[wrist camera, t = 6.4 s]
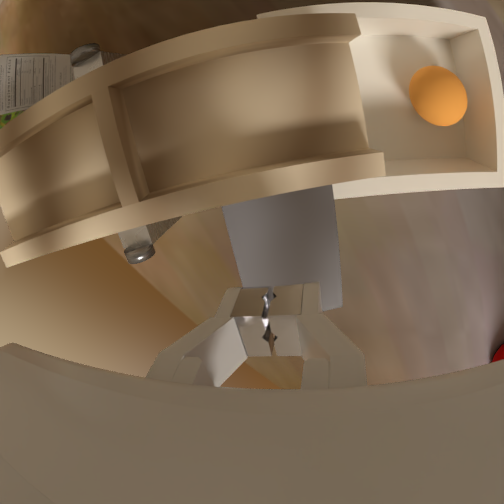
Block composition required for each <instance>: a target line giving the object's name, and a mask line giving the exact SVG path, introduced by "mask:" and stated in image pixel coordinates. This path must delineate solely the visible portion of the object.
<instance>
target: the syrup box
mask: <svg viewBox="0 0 504 504" xmlns="http://www.w3.org/2000/svg"><path fill="white" fill-rule="evenodd" d="M74 68H75V67H72V65H71V59H70V54H51V53H37V54H36V53H29V54H5V55H0V129H1V128H3V127H4V126H5V125H6V124H8V123H9V122H10V121H12V120H13V119H14V118H16V117H17V116H18V115H20V114H21V113H23V112H24V111H25V110H27V109H28V108H30V107H31V106H33V105H34V104H36V103H37V102H39V101H40V100H42V99H43V98H45V97H46V96H48V95H50V94H51V93H53V92H54V91H56V90H58V89H60V88H61V87H63V86H65V85H66V84H68V83H70V82H72V81H74V80H75V76H74V70H73V69H74Z"/></svg>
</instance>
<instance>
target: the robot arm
mask: <svg viewBox="0 0 504 504" xmlns="http://www.w3.org/2000/svg"><path fill="white" fill-rule="evenodd" d="M273 297H274V299H273ZM273 335H275V338H274V337H273ZM274 345H275V349H276V353H277V356H302V357H303V359H304V361H305V362H304V367H303V376H302V384H301V389H246V388H228V387H219V386H220V385H221V384H222V383H223V382H224V381H225V380H226V379H227V378H228V377H229V376H230V375H231V374H232V373H233V372H234V371H235V370H236V369H237V368H238V367H239V366H240V365H241V364H242V363H243V362H244V361H245V360H246V359H247V356H272V352H273V347H274ZM0 504H504V359H503V360H499V361H496V362H493V363H489V364H485V365H482V366H478V367H474V368H470V369H466V370H462V371H457V372H453V373H448V374H443V375H438V376H433V377H427V378H422V379H416V380H409V381H403V382H395V383H388V384H379V385H370V386H367V379H366V367H365V357H364V353H363V352H362V351H361V350H360V349H359V348H358V347H357V346H356V345H355V344H354V343H353V342H352V341H351V340H350V339H349V338H348V337H347V336H346V335H345V334H344V333H343V332H342V331H341V330H340V329H339V328H338V327H337V326H336V325H335V324H334V323H333V322H332V321H331V320H330V319H329V318H328V317H327V316H326V315H325V314H323V313H322V302H321V291H320V283H319V282H312V283H304V284H295V285H284V286H275V287H274V289H273V292H272V288H271V287H270V286H262V287H242V288H241V287H238V288H228V289H227V290H226V292H225V294H224V296H223V299H222V301H221V303H220V305H219V308H218V310H217V312H216V314H215V317H214V318H209V319H207V320H206V321H205V322H203V323H202V324H200V325H199V326H197V327H196V328H195V329H193V330H192V331H190V332H189V333H187V334H186V335H185V336H183V337H182V338H180V339H179V340H177V341H176V342H175V343H173V344H171V345H170V346H169V347H167V348H165V349H164V350H163V351H161V352H160V353H159V354H158V356H157V357H156V359H155V361H154V363H153V365H152V366H151V368H150V370H149V372H148V374H147V376H146V377H145V378H144V377H139V376H133V375H128V374H123V373H118V372H113V371H109V370H104V369H100V368H95V367H91V366H87V365H83V364H79V363H75V362H72V361H68V360H65V359H61V358H58V357H54V356H51V355H48V354H44V353H42V352H39V351H35V350H32V349H30V348H27V347H23V346H21V345H19V344H16V343H9V344H7V345H5V346H3V347H0Z"/></svg>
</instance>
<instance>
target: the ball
mask: <svg viewBox="0 0 504 504" xmlns="http://www.w3.org/2000/svg"><path fill="white" fill-rule="evenodd" d="M409 97H410V100H411V103H412V105H413V107H414V109H415V110H416V112H417V113H418V114H419V115H420V116H421V117H422V118H423V119H424V120H426V121H427V122H429V123H431V124H434V125H438V126H450V125H453V124H455V123H457V122H458V121H459V120H461V118H462V117H463V116H464V114H465V112H466V109H467V103H468V100H467V93H466V90H465V88H464V86H463V84H462V82H461V81H460V79H459V78H458V77H457V76H456V75H455V74H454V73H452V72H451V71H449V70H448V69H446V68H443V67H440V66H426V67H423V68H421V69H419V70H418V71H417V72H416V73H415V74H414V75H413V77H412V78H411V81H410V84H409Z"/></svg>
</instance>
